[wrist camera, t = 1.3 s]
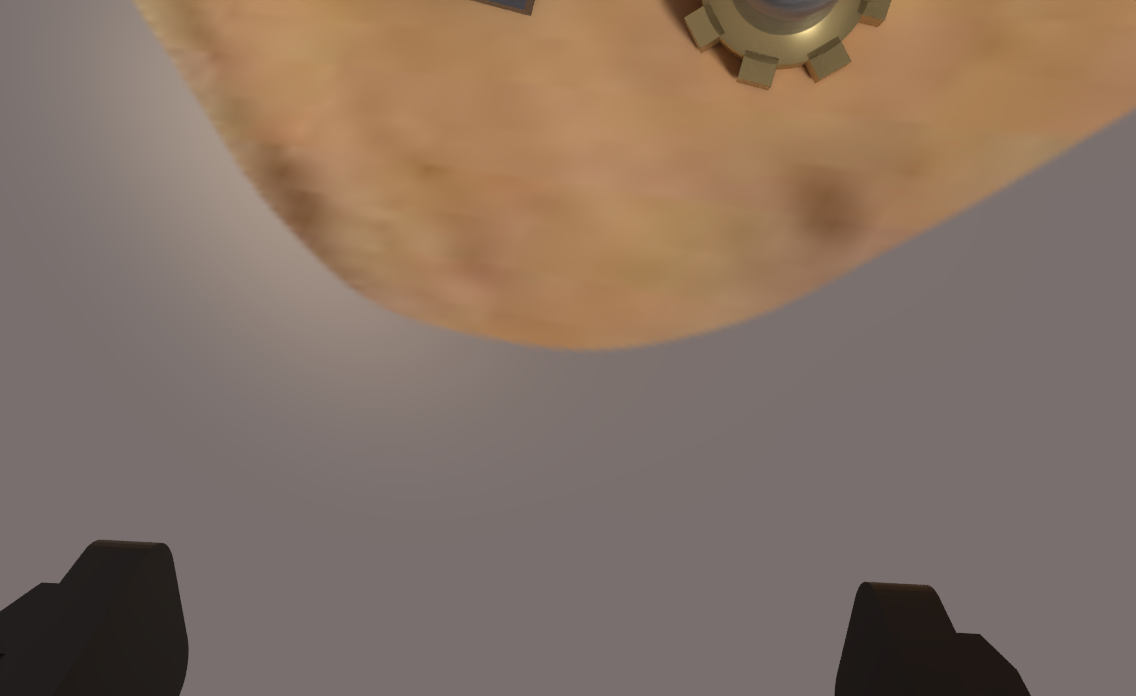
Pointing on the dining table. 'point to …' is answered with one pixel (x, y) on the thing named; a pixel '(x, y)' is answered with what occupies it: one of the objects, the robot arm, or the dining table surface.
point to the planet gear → (782, 33)
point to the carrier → (512, 5)
